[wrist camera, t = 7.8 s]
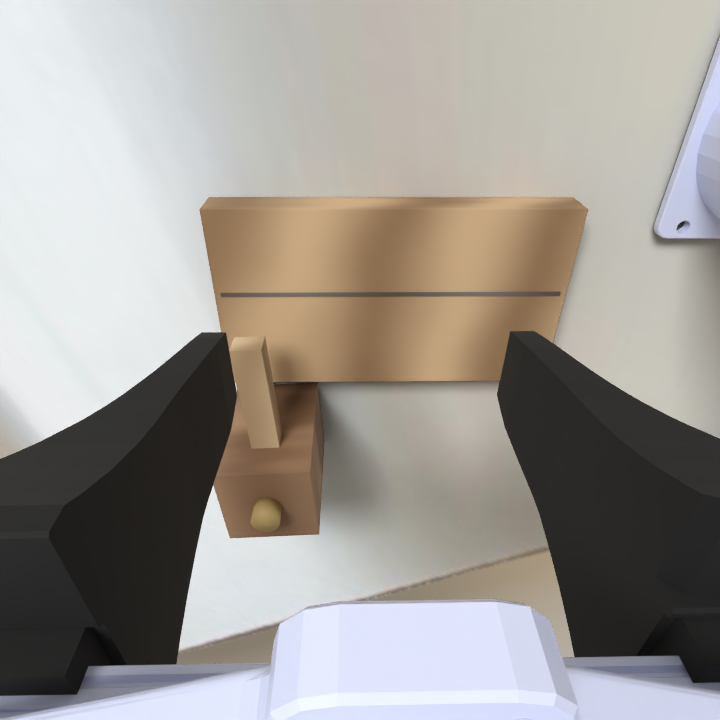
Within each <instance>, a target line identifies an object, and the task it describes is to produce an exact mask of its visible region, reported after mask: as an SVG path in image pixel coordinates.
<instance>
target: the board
mask: <svg viewBox="0 0 720 720" xmlns="http://www.w3.org/2000/svg"><path fill="white" fill-rule="evenodd" d="M587 213H588V209H587V208H586V207H585V206H583V205H582V204H581V203H580V202H578V201H577V200H576V199H575V198H271V197H209V198H208V199H207V201H206V202H205V203H204V205H203V206H202V207H201V208H200V214H201V220H202V226H203V231H204V237H205V242H206V248H207V254H208V259H209V265H210V271H211V276H212V282H213V287H214V293H215V299H216V304H217V310H218V316H219V321H220V327H221V332H226V335H227V340H228V346H229V350H230V347H231V345H232V342H233V339H234V337H251V336H265V339H266V344H267V350H268V356H269V361H270V367H271V372H272V378H273V382H355V381H500V378H501V373H502V368H503V363H504V359H505V354H506V349H507V344H508V339H509V334H510V331H535V332H537V333H538V334H540V335H542V336H543V337H545V338H546V339H548V340H549V341H550V342H552V343H553V340H554V336H555V332H556V328H557V325H558V321H559V317H560V314H561V310H562V306H563V302H564V299H565V295H566V291H567V287H568V284H569V280H570V276H571V272H572V269H573V265H574V261H575V257H576V254H577V250H578V246H579V243H580V239H581V235H582V231H583V228H584V224H585V220H586V216H587ZM231 364H232V362H231ZM232 370H233V367H232ZM233 375H234V371H233ZM234 381H235V382H236V380H235V375H234Z"/></svg>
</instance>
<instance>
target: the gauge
mask: <svg viewBox="0 0 720 720" xmlns="http://www.w3.org/2000/svg"><path fill="white" fill-rule="evenodd" d="M229 352H230V358H231V362H232V367H233V371H234V375H235V380H236V384H237V392H236V393H237V400H236V406H235V412H234V418H233V423H232V428H231V432H230V435H229V438H228V441H227V444H226V447H225V451H224V454H223V457H222V460H221V463H220V466H219V469H218V472H217V475H216V478H215V481H214V484H213V485H214V488H215V491H216V494H217V498H218V501H219V504H220V507H221V511H222V514H223V517H224V520H225V523H226V527H227V530H228V533H229V536H230V538H246V537H268V536H291V535H314V534H319V525H320V508H321V490H322V473H323V455H324V434H323V425H322V416H321V408H320V399H319V390H318V382H317V383H296V384H274V383H273V378H272V372H271V367H270V361H269V356H268V350H267V344H266V339H265V336H251V337H234V339H233V342H232V345H231V347H230V350H229Z"/></svg>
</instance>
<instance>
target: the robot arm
mask: <svg viewBox="0 0 720 720" xmlns="http://www.w3.org/2000/svg"><path fill="white" fill-rule="evenodd" d="M682 221H685V224H684V225H683V227H682V228H680V229H678V230H677V226H678V224H679V223H681V222H682ZM654 231H655V233H656V234H657V235H659V236H660V237H662V238H666V239H720V38H719V41H718V44H717V47H716V50H715V52H714V55H713V58H712V61H711V64H710V67H709V70H708V72H707V75H706V78H705V81H704V84H703V87H702V90H701V92H700V95H699V98H698V101H697V104H696V107H695V110H694V113H693V115H692V118H691V121H690V124H689V127H688V130H687V133H686V135H685V138H684V141H683V144H682V147H681V150H680V153H679V155H678V158H677V161H676V164H675V167H674V170H673V173H672V175H671V178H670V181H669V184H668V187H667V190H666V193H665V196H664V198H663V201H662V204H661V207H660V210H659V213H658V216H657V218H656V221H655V224H654ZM497 396H498V401H499V405H500V409H501V414H502V418H503V421H504V425H505V428H506V431H507V434H508V436H509V439H510V441H511V444H512V446H513V449H514V451H515V454H516V456H517V458H518V461H519V463H520V466H521V468H522V471H523V473H524V475H525V478H526V480H527V483H528V485H529V487H530V490H531V492H532V495H533V497H534V500H535V503H536V505H537V508H538V511H539V514H540V517H541V521H542V524H543V528H544V531H545V535H546V538H547V542H548V545H549V549H550V553H551V557H552V561H553V564H554V568H555V572H556V576H557V580H558V584H559V587H560V592H561V597H562V600H563V605H564V610H565V614H566V618H567V623H568V627H569V631H570V636H571V641H572V646H573V651H574V656H575V657H574V658H573V657H572V658H571V657H570V658H562V655H561V652H560V649H559V646H558V644H557V641H556V637H555V634H554V632H553V629H552V626H551V623H550V620H549V619H548V618H546V617H544V616H543V615H542V614H540V613H538V612H537V611H535V610H534V609H533V608H531V607H529V606H527V605H526V604H524V603H518V602H511V601H504V600H497V599H465V600H401V601H399V600H397V601H339V602H333V603H327V604H320V605H314V606H308V607H306V608H305V609H303V610H301V611H300V612H298V613H296V614H295V615H293V616H291V617H289V618H288V619H286V620H285V621H284V622H282V623H281V624H280V625H279V628H278V631H277V634H276V637H275V640H274V644H273V653H272V662H271V663H232V664H231V663H229V664H179V665H178V664H176V662H177V655H178V649H179V642H180V636H181V630H182V624H183V618H184V612H185V606H186V600H187V594H188V589H189V584H190V579H191V573H192V568H193V563H194V558H195V553H196V548H197V543H198V538H199V534H200V529H201V524H202V520H203V516H204V512H205V509H206V505H207V502H208V499H209V496H210V493H211V490H212V487H213V484H214V481H215V478H216V475H217V472H218V469H219V466H220V463H221V460H222V457H223V454H224V451H225V447H226V444H227V441H228V438H229V435H230V432H231V428H232V423H233V418H234V412H235V406H236V400H237V393H236V387H235V381H234V375H233V370H232V364H231V358H230V352H229V346H228V340H227V335H226V332H220V333H201V334H199V335H198V336H197V337H195V338H194V339H193V340H192V341H190V342H189V343H188V344H187V345H186V346H184V347H183V348H182V349H181V350H180V351H179V352H177V353H176V354H175V355H174V356H173V357H171V358H170V359H169V360H168V361H166V362H165V363H164V364H163V365H162V366H160V367H159V368H158V369H157V370H155V371H154V372H153V373H152V374H150V375H149V376H148V377H146V378H145V379H144V380H142V381H141V382H139V383H138V384H137V385H135V386H134V387H133V388H131V389H130V390H129V391H127V392H126V393H125V394H123V395H122V396H120V397H119V398H117V399H116V400H114V401H113V402H111V403H110V404H108V405H107V406H105V407H103V408H102V409H100V410H98V411H97V412H95V413H93V414H92V415H90V416H88V417H87V418H85V419H83V420H81V421H80V422H78V423H76V424H74V425H72V426H70V427H68V428H66V429H64V430H62V431H60V432H58V433H56V434H54V435H52V436H50V437H49V438H47V439H45V440H43V441H41V442H39V443H36V444H34V445H32V446H30V447H27V448H25V449H23V450H21V451H18V452H16V453H14V454H11V455H9V456H7V457H4V458H2V459H0V720H720V439H719V438H717V437H714V436H712V435H710V434H708V433H705V432H703V431H701V430H698V429H696V428H694V427H691V426H689V425H687V424H685V423H682V422H680V421H678V420H676V419H674V418H672V417H670V416H668V415H666V414H664V413H662V412H660V411H658V410H656V409H654V408H652V407H651V406H649V405H647V404H645V403H643V402H641V401H639V400H638V399H636V398H634V397H632V396H631V395H629V394H627V393H626V392H624V391H622V390H621V389H619V388H618V387H616V386H614V385H613V384H611V383H609V382H608V381H606V380H605V379H603V378H602V377H600V376H599V375H597V374H596V373H594V372H593V371H591V370H590V369H588V368H587V367H586V366H584V365H583V364H581V363H580V362H578V361H577V360H576V359H574V358H573V357H571V356H570V355H569V354H567V353H566V352H564V351H563V350H562V349H560V348H559V347H557V346H556V345H555V344H553V343H552V342H550V341H549V340H548V339H546V338H545V337H543V336H542V335H540V334H538V333H537V332H535V331H510V334H509V339H508V344H507V349H506V354H505V359H504V363H503V368H502V373H501V378H500V383H499V388H498V392H497Z"/></svg>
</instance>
